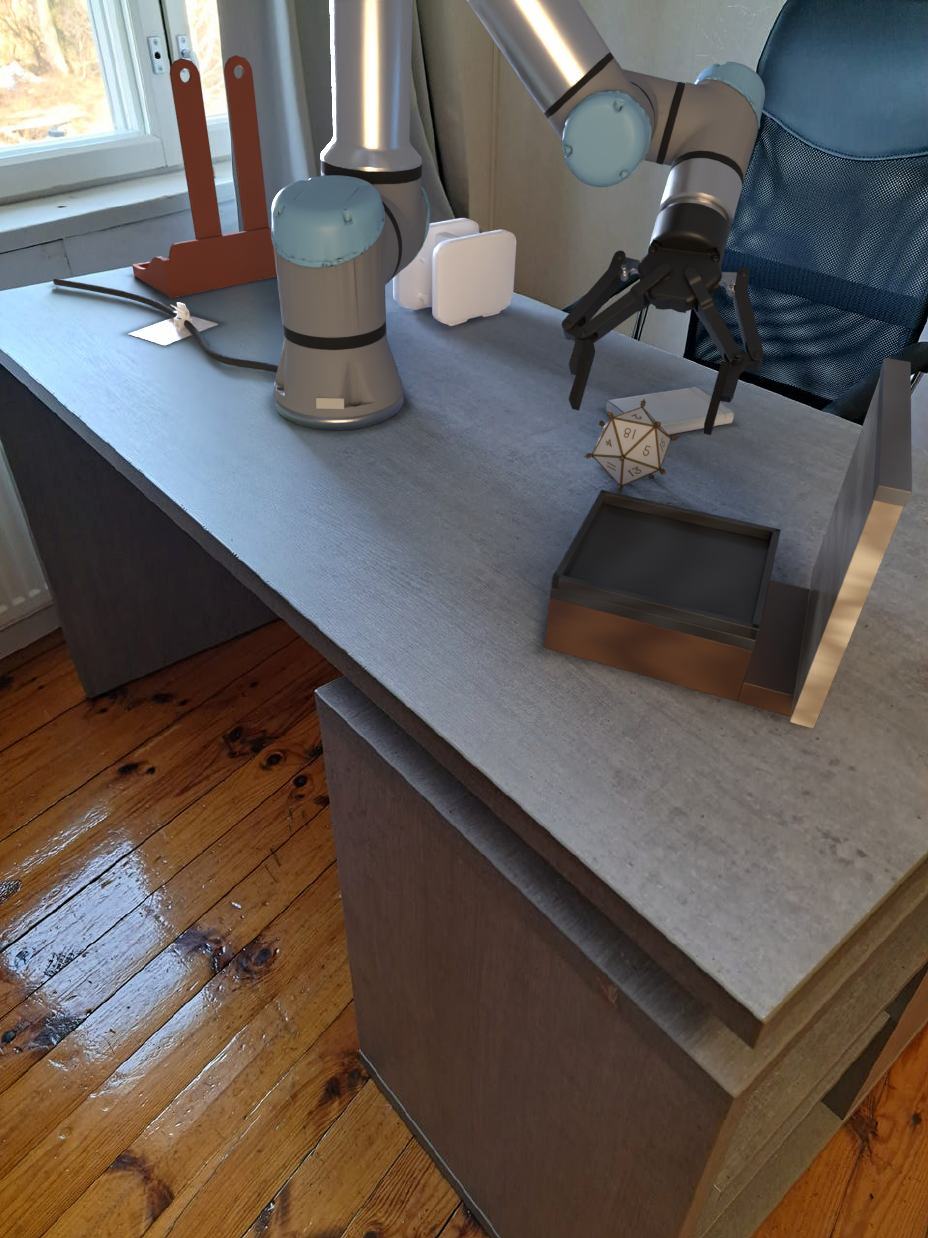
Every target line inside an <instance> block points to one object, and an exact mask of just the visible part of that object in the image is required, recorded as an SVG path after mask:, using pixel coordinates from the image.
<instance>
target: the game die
mask: <svg viewBox="0 0 928 1238" xmlns="http://www.w3.org/2000/svg"><path fill="white" fill-rule="evenodd" d="M645 403H646V402H645V399H643V400H642V401H641V404H640V405H641V407H639V408H636V409H634V410H631V411H628V412H625V413H622V414H620V415H617V416H613V415H614V414H612V412H607V417H608V420H607V421H606V422H605V421H604V420H602V419H600V420H598V425H599V426H600V427H602V428H601V430H600V432H599V435H598V437H597V440H596V442H595V445H594V447H593V450H592V452H591V453H590V452H588V453H585V455H584V456H583V458H585V459H587V460H588V459H591V458H593V459H594V460H595V461H596V462H597V463H598V464H599V465H600V466H601V467H602V469H603V470H604V471H605V472H606V473H607V474H608V475H609V476H610V477H611V478H612V479H613V480H614V482H615V483H617V485H619V486H618V487H617V490H616V491H617V493H619V494H622V493H623V490H624V486H627V485H629V484H632V483H635V482H636V481H639V480H641V479H644V478H647V477H648V478H649V480H653V481H654V480H655V476H654V474H655V473H657V472H659V473H660V474H661V475H667V472H666V471H667V469H665V468H662V467H663V464H664V460H665V458H666V456H667V453H668V450H669V447H670V444H671V441H672V442H673V441H677V440H678V439H679V438H680V436H679V435H677V434H672V435H671V436H670V434H669V435H668V434H667V433H666V431H665V430H664V429H663V428H662V427H661V422H658V421H657V422H656V421H655V419H654V418H653V417H652V416H651V415H650V414H649V413H648V412H647V411H646V410H645V409H644V406H645Z"/></svg>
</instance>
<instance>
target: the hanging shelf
mask: <svg viewBox="0 0 928 1238" xmlns="http://www.w3.org/2000/svg"><path fill="white" fill-rule="evenodd" d="M238 66H239V67H240V68H241V72H242V74H241V76H240V77H239V78H238V77H237V76H236V74H235V69H236V67H238ZM183 70H187V72H188V75H189V77H188V80H187V81H183V80H182V77H181V73H182V71H183ZM223 74H224V75H223V76H224V82H225V90H226V98H227V99H226V100H227V108H228V114H229V115H228V116H229V122H230V123H229V124H230V131H231V139H232V140H231V141H232V147H233V154H234V164H235V170H236V179H237V185H238V186H237V187H238V194H239V195H238V196H239V204H240V210H241V219H242V227H243V230H241V231H237V232H230V233H225V234H223V232H222V224H221V223H222V222H221V217H220V209H219V203H218V195H217V189H216V188H217V187H216V182H215V174H214V173H215V172H214V167H213V160H212V154H211V153H212V152H211V145H210V138H209V130H208V124H207V117H206V110H205V109H206V108H205V102H204V95H203V87H202V81H201V74H200V71H199V69H198V67H197V65H196V64H195V63H194V61H192V60H189V59H186V58H183V57H180V58H177V59H175V60H174V61H173V62H172V64H171V66H170V69H169V78H170V79H169V80H170V85H171V91H172V98H173V104H174V110H175V116H176V118H175V119H176V123H177V131H178V136H179V137H178V138H179V144H180V148H181V154H182V162H183V168H184V173H185V179H186V186H187V193H188V200H189V206H190V213H191V218H192V223H193V225H192V226H193V232H194V237H195V239H190V240H184V241H183V240H182V241H178V242H174V243H172V244H171V245H170V247H169V252H168V257H167V258H166V257H164V256H154V257H153V258H152V259H151V260H150V261H144V262H139V263H133V264H131V267H132V271H133V276H134V277H136V278H137V279H139V280H141V281H142V282H143V283H146V284H147V285H148V286H150V287H152V288H154V289H155V290H157V291H158V292H160V293H162V294H163V295H166V296H167V297H168V298H169V299H174V298H179V297H184V296H188V295H192V294H198V293H202V292H208V291H212V290H217V289H223V288H228V287H232V286H237V285H242V284H246V283H251V282H257V281H261V280H266V279H270V278H277V272H276V263H275V255H274V246H273V243H272V239H271V227H272V225H271V226H270V225H269V224H270V223H269V216H268V206H267V196H266V187H265V179H264V168H263V160H262V150H261V149H262V148H261V140H260V131H259V123H258V122H259V121H258V113H257V112H258V111H257V103H256V93H255V84H254V75H253V68H252V65H251V63H250V62H249V61H248V60H247V59H246V57H243V56H239V55H237V54H235V55H233V56H230V57H228V58H227V60H226V62H225V63H224V69H223Z"/></svg>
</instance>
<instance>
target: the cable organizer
mask: <svg viewBox="0 0 928 1238" xmlns="http://www.w3.org/2000/svg"><path fill="white" fill-rule="evenodd" d="M480 230H481V229H480V226H479V224H478V222H476V221H474V220H472V219H469V218H466V217H458V218H453V219H447V220H443V221H437V222H430V226H429V231H428V234H427V237H426V240H425V242H424V244H423V247H422V248H421V250H420V252H419V253H418V255H417V256H416V258H415V259H414V260H413V261H412V262H411V263H410V264H409V265H408V266H407V267H406V268H404V269H403V270H401V271H400V272H399V273H398V274H397V275H396V276H395V277H394V278H393V279H392V296H393V297H392V298H393V301H394V303H395V304H396V305H398V306H400V307H402V308H404V309H406V310H412V311H417V310H422V309H425V308H430V307H431V310H432V312H431V313H432V316H433V319H435V320H436V321H437V322H439V323H442V324H444V325H447V326H448V327H454V326H457V325H460V324H463V323H466V322H468V320H470V319H475V318H478V317H483V318H488V317H491V316H495V315H498V314H500V313H501V312H502V311H503V310H506V309H507V308H508V307H509V306H510V304H511V303H512V302H513V297H514V288H515V274H516V273H515V271H516V259H517V257H516V255H517V238H516V235H515V234H514V233H513V232H512V231H509V230H506V229H494V230H490V231H484V232H480Z"/></svg>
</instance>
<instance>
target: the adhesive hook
mask: <svg viewBox="0 0 928 1238" xmlns="http://www.w3.org/2000/svg"><path fill="white" fill-rule="evenodd" d="M169 306H170V307H171V308H173V309H174V310H176V311H173V312H174V313H177V316H176V317H172V318H173V327H174V328H176V329H178V330H180V331H181V330H183V329H184V328H185V326H184V321H185V320H188V321H189V322H190V323H193V319H192V318H191V316H192V315H190V311H189V309H188V308H187V306H186V304H185V303H184V302H179V301H177V302H176V305H173V304H170V305H169ZM179 318H182V319H180V320H179Z"/></svg>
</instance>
